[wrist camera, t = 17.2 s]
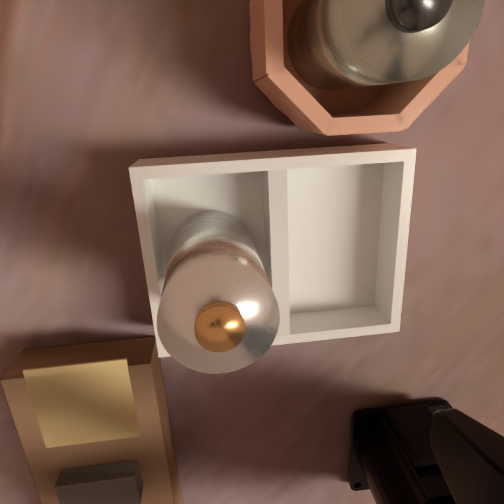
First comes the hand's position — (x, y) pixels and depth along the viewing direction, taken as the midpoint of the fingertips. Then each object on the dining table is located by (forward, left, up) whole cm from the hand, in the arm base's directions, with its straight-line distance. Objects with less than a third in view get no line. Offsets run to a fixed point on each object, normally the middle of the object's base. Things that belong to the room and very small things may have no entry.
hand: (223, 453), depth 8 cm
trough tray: (0, -3, -13) cm, 13 cm away
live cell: (0, 0, -12) cm, 12 cm away
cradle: (-12, +7, -13) cm, 19 cm away
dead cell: (+9, -6, -12) cm, 16 cm away
